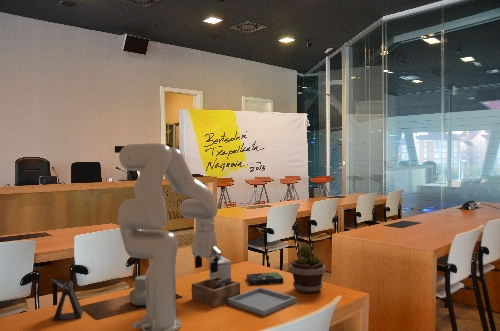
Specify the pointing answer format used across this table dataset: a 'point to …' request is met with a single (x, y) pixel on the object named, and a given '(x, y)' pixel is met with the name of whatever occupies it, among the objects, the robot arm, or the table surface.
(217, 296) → the frame
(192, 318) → the table surface
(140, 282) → the air freshener
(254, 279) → the disk drive
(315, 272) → the flowerpot
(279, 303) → the tray
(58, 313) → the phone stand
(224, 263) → the light bulb box
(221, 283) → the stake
